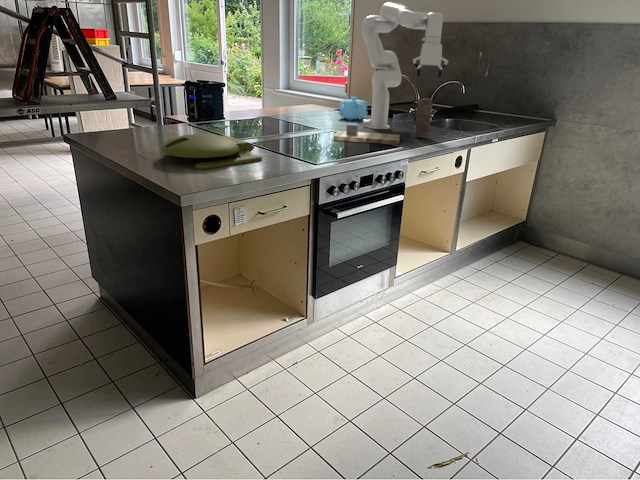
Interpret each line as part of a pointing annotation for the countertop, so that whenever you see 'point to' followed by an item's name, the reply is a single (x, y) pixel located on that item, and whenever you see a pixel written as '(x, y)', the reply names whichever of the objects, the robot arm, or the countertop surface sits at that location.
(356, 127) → the gray cube
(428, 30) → the robot arm
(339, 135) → the light wood flat board
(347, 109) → the decorative pot
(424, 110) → the brown wooden block
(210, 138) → the spaceship
